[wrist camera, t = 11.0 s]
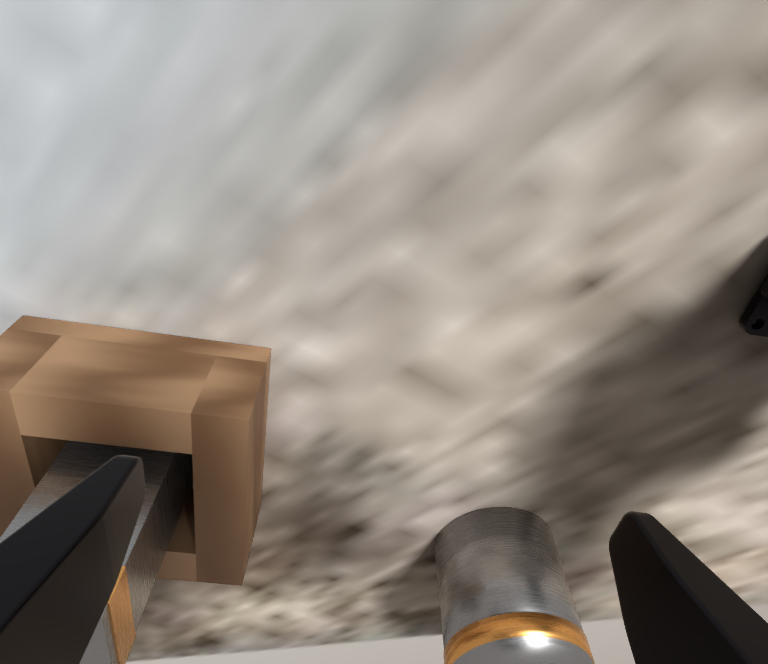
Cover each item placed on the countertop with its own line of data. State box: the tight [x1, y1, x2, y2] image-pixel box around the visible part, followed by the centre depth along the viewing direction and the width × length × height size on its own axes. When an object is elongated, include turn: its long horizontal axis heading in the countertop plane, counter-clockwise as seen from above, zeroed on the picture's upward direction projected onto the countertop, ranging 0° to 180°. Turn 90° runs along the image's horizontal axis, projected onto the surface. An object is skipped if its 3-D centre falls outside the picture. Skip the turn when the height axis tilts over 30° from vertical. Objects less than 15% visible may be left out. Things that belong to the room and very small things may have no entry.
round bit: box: [434, 507, 594, 664], centre depth 27 cm, size 7×7×7 cm
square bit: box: [0, 440, 193, 664], centre depth 20 cm, size 4×4×9 cm
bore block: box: [0, 316, 271, 586], centre depth 23 cm, size 10×10×4 cm
